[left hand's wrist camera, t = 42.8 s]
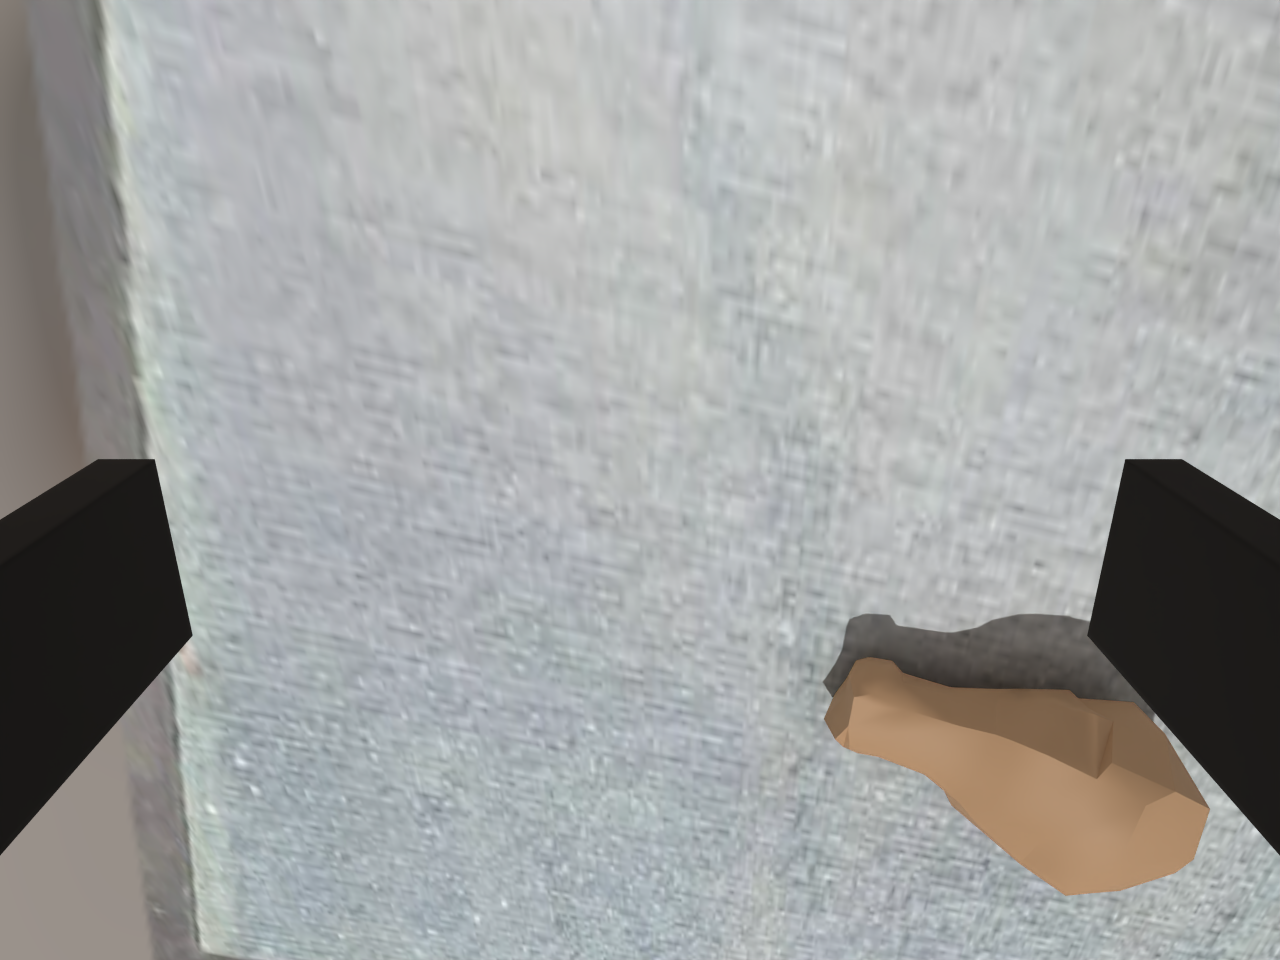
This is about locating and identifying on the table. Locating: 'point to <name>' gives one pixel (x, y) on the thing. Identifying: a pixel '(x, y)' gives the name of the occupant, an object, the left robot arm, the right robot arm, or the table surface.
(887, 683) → the squash
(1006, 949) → the table surface
